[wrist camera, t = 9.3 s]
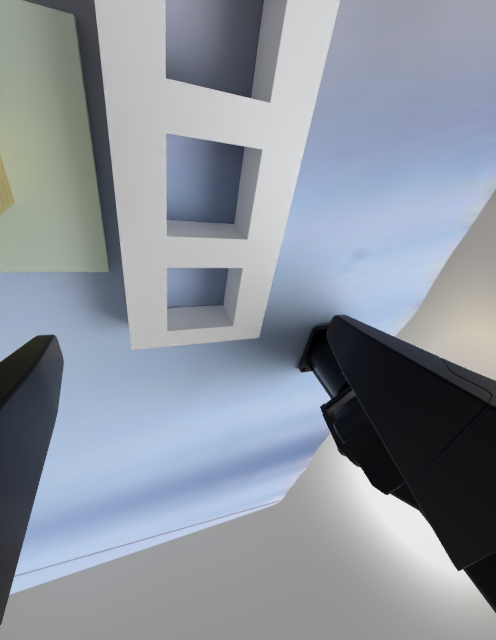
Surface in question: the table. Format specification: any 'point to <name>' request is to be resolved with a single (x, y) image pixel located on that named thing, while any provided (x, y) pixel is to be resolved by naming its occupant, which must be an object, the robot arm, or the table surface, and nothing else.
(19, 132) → the pad
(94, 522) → the table surface
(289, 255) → the table surface
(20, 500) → the robot arm
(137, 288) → the white slotted frame
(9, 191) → the plug
